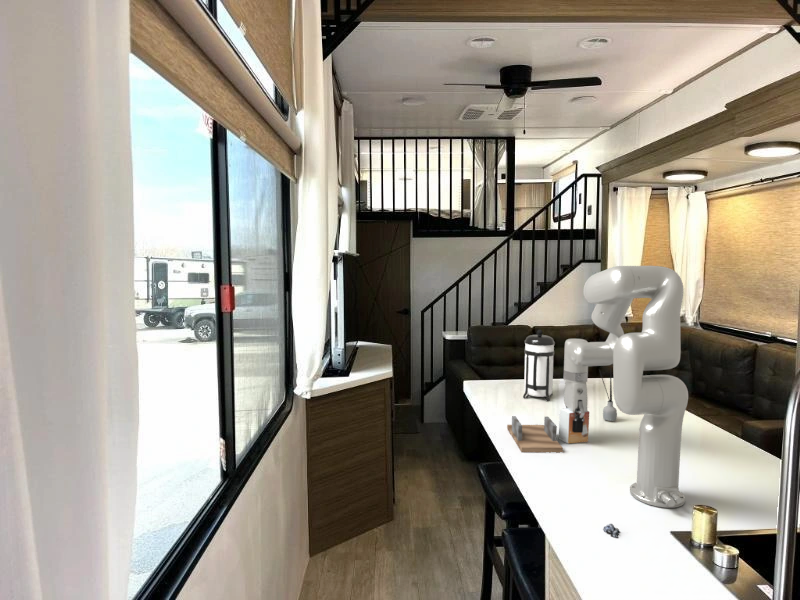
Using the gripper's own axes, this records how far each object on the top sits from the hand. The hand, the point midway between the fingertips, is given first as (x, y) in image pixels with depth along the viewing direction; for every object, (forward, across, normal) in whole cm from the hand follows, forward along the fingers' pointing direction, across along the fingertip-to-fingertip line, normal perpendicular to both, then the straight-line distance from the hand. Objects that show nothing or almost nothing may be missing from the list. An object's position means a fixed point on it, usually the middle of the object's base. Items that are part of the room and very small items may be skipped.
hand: (573, 427), depth 169 cm
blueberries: (+5, -57, +10) cm, 58 cm away
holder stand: (+4, 0, +14) cm, 14 cm away
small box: (+4, 0, 0) cm, 4 cm away
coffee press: (+4, +52, -2) cm, 52 cm away
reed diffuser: (+4, +22, -20) cm, 30 cm away
